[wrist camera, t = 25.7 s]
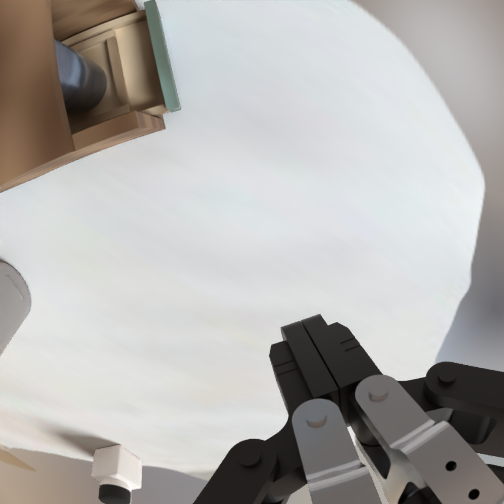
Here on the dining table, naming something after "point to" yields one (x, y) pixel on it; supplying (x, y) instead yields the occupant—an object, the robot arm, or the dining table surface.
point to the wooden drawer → (128, 67)
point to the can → (79, 80)
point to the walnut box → (50, 88)
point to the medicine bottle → (116, 474)
